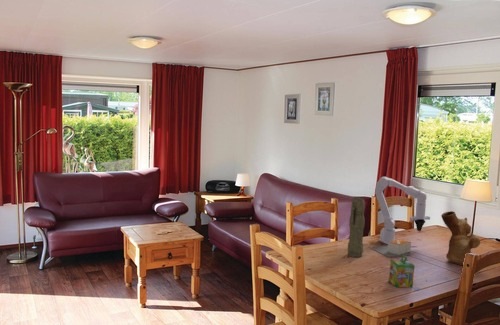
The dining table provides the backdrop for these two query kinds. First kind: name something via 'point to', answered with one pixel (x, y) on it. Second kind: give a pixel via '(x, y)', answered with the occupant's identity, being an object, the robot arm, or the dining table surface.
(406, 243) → the small box
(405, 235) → the dining table surface
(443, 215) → the ceramic vessel
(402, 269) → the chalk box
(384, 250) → the mat
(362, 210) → the olive green carved pillar
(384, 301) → the dining table surface
